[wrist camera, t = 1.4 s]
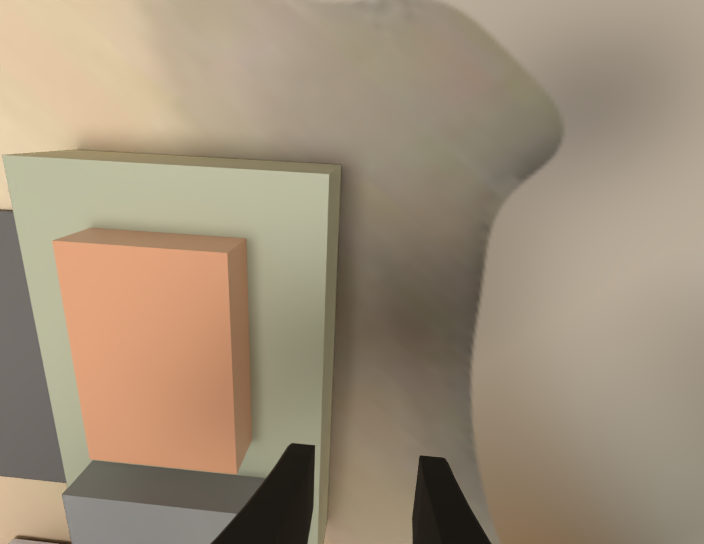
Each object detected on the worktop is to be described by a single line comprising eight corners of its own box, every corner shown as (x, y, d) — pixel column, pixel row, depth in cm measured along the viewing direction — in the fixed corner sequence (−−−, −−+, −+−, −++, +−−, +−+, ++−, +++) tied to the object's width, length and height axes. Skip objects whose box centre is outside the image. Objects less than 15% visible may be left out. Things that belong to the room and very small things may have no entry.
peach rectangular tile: (251, 439, 19) (236, 474, 17) (119, 426, 19) (89, 459, 18) (246, 238, 16) (227, 252, 14) (90, 227, 17) (51, 240, 15)
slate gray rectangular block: (286, 480, 20) (275, 517, 18) (285, 578, 22) (275, 621, 20) (92, 460, 20) (61, 494, 18) (109, 557, 22) (82, 597, 20)
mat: (116, 483, 26) (113, 488, 26) (-44, 466, 26) (-49, 470, 26) (75, 214, 21) (71, 215, 20) (-121, 201, 21) (-128, 202, 21)
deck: (327, 520, 25) (316, 589, 22) (126, 498, 26) (82, 561, 22) (341, 164, 19) (328, 173, 15) (76, 149, 20) (1, 154, 16)
